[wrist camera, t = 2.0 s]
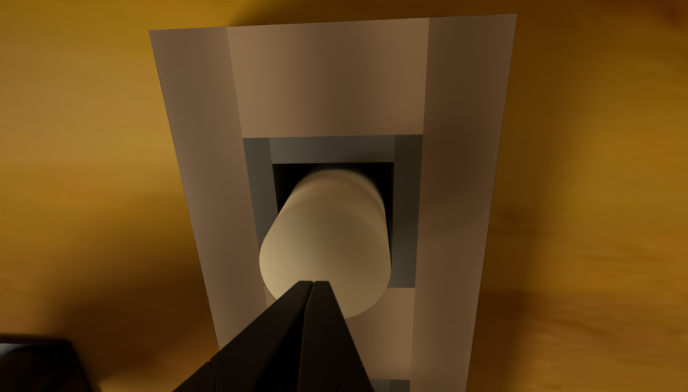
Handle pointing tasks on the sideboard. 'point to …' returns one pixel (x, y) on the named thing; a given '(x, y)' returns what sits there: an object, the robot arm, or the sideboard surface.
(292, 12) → the sideboard surface
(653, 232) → the sideboard surface
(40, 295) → the sideboard surface
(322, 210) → the beech peg
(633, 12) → the sideboard surface
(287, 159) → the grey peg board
